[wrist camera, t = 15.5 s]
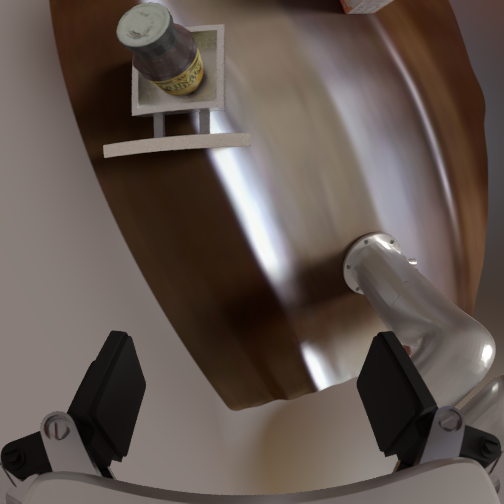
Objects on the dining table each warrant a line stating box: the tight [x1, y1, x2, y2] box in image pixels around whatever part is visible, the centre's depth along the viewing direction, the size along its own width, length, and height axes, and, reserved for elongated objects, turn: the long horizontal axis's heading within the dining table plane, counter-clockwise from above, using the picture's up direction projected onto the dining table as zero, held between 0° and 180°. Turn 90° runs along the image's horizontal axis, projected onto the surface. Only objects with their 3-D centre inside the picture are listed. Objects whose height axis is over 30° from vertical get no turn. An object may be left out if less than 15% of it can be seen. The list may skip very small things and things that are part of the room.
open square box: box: [103, 24, 251, 158], centre depth 31 cm, size 17×16×12 cm
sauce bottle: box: [117, 2, 204, 96], centre depth 22 cm, size 7×6×20 cm
